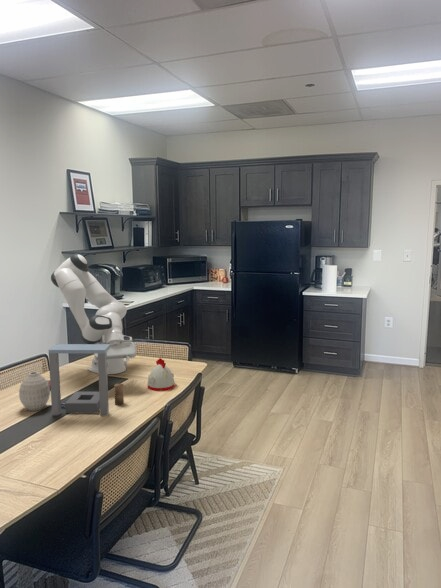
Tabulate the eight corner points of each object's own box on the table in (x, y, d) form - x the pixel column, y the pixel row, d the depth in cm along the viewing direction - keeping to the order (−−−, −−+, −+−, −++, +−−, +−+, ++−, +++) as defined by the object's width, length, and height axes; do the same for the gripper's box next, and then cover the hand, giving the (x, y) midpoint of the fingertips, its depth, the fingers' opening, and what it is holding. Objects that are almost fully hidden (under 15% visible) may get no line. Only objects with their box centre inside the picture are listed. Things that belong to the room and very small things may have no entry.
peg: (113, 404, 202) (112, 385, 200) (118, 401, 205) (118, 383, 204) (119, 405, 200) (119, 387, 198) (125, 402, 203) (124, 384, 202)
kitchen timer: (156, 393, 216) (155, 364, 213) (142, 385, 226) (142, 357, 224) (179, 387, 224) (179, 359, 222) (165, 379, 235) (164, 353, 233)
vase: (21, 404, 200) (18, 370, 198) (50, 401, 205) (49, 367, 202) (19, 415, 189) (16, 379, 186) (50, 411, 193) (48, 375, 191)
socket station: (65, 400, 206) (62, 340, 201) (115, 400, 206) (113, 340, 201) (52, 415, 189) (48, 349, 185) (107, 415, 189) (104, 350, 185)
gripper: (93, 339, 214) (93, 364, 206) (135, 336, 220) (137, 361, 212) (93, 346, 219) (94, 370, 211) (134, 343, 225) (136, 367, 217)
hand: (116, 365), depth 211 cm, fingers open, 8 cm apart
